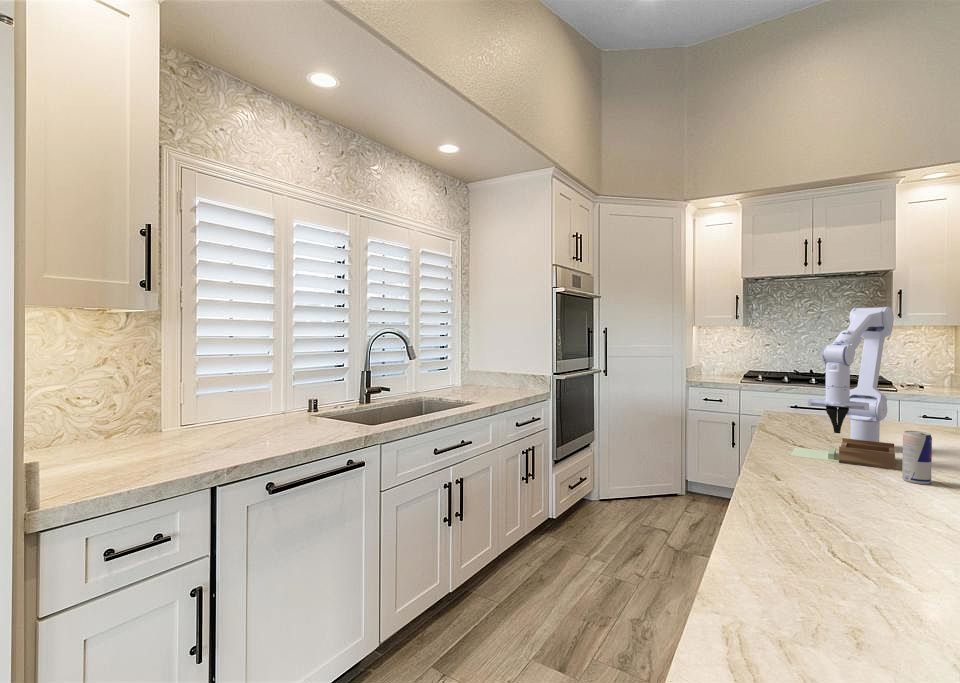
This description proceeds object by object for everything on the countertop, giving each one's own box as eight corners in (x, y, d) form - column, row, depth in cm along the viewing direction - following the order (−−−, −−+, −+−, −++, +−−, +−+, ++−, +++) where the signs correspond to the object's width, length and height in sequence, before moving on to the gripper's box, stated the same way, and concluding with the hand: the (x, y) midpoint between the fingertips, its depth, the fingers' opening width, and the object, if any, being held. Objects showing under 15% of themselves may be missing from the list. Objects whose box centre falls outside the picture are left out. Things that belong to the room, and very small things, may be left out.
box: (842, 452, 150) (842, 438, 150) (894, 458, 142) (894, 443, 142) (838, 462, 139) (839, 447, 139) (894, 470, 131) (895, 453, 131)
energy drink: (937, 484, 119) (938, 435, 119) (914, 484, 119) (915, 435, 119) (918, 478, 125) (918, 430, 124) (896, 478, 125) (897, 430, 124)
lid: (795, 449, 157) (795, 442, 157) (840, 454, 149) (840, 447, 149) (790, 457, 147) (790, 449, 147) (838, 464, 140) (838, 456, 140)
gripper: (806, 386, 146) (805, 431, 146) (868, 389, 137) (868, 438, 137) (809, 383, 151) (808, 427, 152) (869, 386, 142) (869, 433, 143)
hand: (837, 432), depth 145 cm, fingers closed
